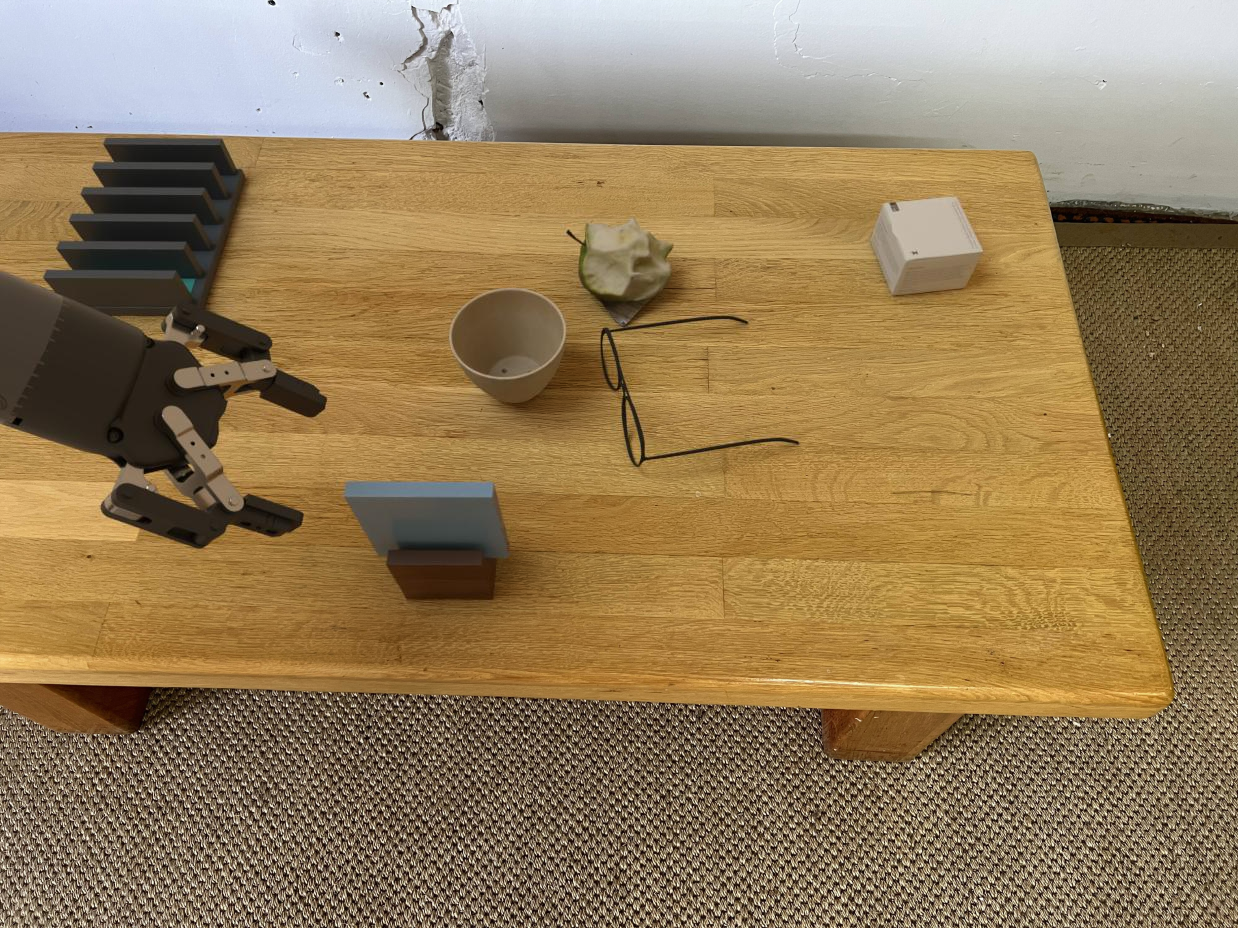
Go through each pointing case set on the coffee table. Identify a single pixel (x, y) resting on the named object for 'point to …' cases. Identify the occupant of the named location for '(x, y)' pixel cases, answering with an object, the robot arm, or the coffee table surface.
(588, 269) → the fruit
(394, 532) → the plate
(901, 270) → the small box
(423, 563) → the stand
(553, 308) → the flower pot
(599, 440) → the coffee table surface
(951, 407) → the coffee table surface
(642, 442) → the glasses
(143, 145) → the rack
